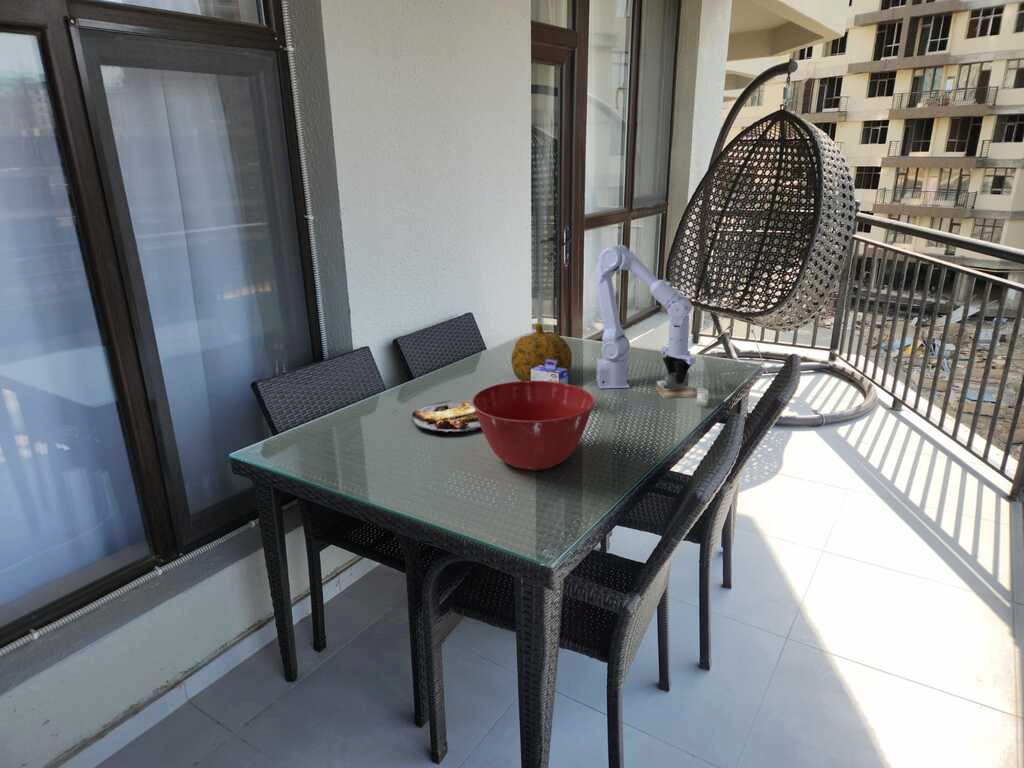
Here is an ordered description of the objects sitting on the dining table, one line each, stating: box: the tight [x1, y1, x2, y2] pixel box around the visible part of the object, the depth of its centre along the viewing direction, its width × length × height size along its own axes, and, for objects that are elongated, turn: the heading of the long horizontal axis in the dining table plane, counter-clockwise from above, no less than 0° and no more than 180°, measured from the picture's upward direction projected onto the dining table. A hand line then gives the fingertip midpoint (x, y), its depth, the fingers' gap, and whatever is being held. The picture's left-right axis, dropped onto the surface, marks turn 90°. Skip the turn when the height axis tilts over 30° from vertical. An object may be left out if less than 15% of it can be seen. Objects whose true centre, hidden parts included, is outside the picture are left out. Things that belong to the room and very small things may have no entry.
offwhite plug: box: [695, 387, 709, 408], centre depth 188 cm, size 9×3×4 cm, turn 167°
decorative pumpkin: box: [510, 323, 573, 381], centre depth 212 cm, size 20×21×20 cm
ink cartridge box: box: [531, 359, 569, 384], centre depth 186 cm, size 10×6×14 cm, turn 55°
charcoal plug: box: [656, 371, 690, 389], centre depth 197 cm, size 10×3×4 cm, turn 112°
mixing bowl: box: [471, 380, 595, 471], centre depth 152 cm, size 28×28×16 cm
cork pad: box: [655, 384, 697, 399], centre depth 198 cm, size 10×10×1 cm
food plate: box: [410, 399, 482, 434], centre depth 180 cm, size 25×23×4 cm
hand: (676, 381), depth 197 cm, fingers closed on charcoal plug, 3 cm apart
